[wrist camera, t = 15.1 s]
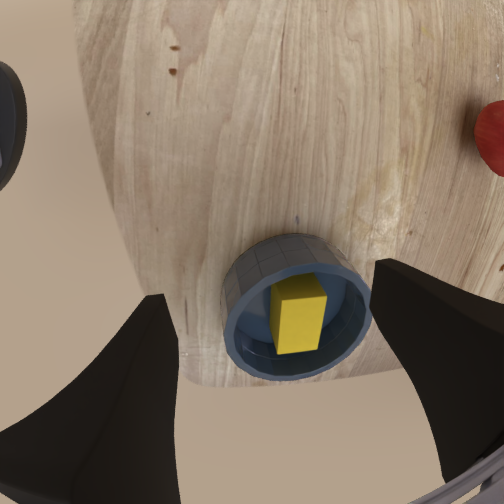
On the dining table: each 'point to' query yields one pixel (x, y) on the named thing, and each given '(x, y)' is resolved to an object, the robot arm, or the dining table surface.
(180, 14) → the dining table surface
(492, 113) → the onion
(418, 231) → the dining table surface
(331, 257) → the bowl
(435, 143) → the dining table surface
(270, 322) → the yellow block
